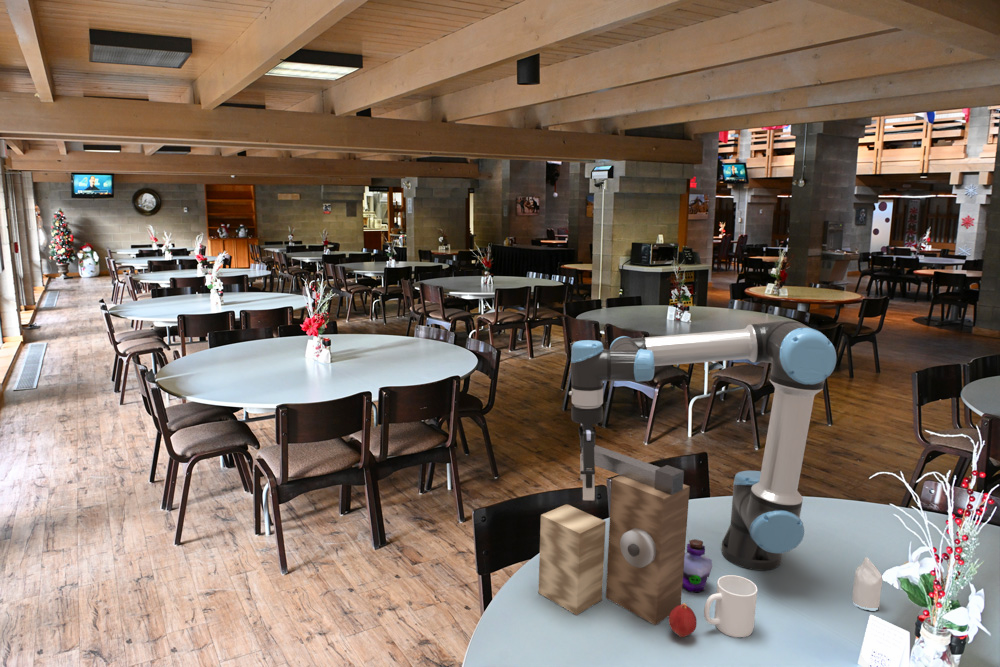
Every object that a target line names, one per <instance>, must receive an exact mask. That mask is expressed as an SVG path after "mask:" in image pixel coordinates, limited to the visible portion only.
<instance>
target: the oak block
mask: <svg viewBox="0 0 1000 667" xmlns="http://www.w3.org/2000/svg"><path fill="white" fill-rule="evenodd" d="M606 522H607V521H606V520H603V519H602V518H599V517H597V516H594V515H592V514H590V513H588V512H586V511H583V510H581V509H579V508H577V507H574V506H572V505H570V504H567V503H566V504H563V505H561V506H559V507H555V509H552V510H549V511H547V512H544V513H542V514H540V525H539V526H540V527H539V528H540V530H539V535H540V536H539V564H538V565H539V566H538V570H539V571H538V594H540V595H542V596H544V597H545V598H547V599H549V600H550V601H551V602H553V603H555V604H557V605H558V606H560V607H562V608H563V607H564V608H563V609H565V608H566V609H565V610H567V611H568V610H569V611H568V612H570V613H572V614H573V613H574V615H575V616H577V615H579V614H581V613H583V612H585V611H586V610H588V609H589V607H590V608H592V607H593V606H595V605H596V604H598V603H599V601H600V602H601V601H603V600H602V599H603V584H604V581H603V580H604V563H605V562H604V561H605V545H606V544H605V543H606V542H605V541H606V540H605V539H606ZM594 604H595V605H594ZM592 605H593V606H592ZM584 610H585V611H584Z"/></svg>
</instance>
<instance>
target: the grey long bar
mask: <svg viewBox="0 0 1000 667" xmlns="http://www.w3.org/2000/svg"><path fill="white" fill-rule="evenodd" d="M580 454H581V460H582V461H583V448H582V453H580ZM594 461H595V467H597V468H600V469H603V470H606V471H609V472H612V473H614V474H617V475H618V476H620V475H622V476H624V477H627V478H630V479H632V480H635V481H638V482H640V483H643V484H646V485H648V486H651V487H654V489H656V490H659V491H662V492H664V493H667V494H670V495H673V494H675V493H677V492H679V491H681V490H683V484H684V477H685V474H684V473H685V471H684V470H683V469H680V468H676V467H675V466H671V465H668V464H666V465H664V466H661V467H660V466H657V465H653V464H651V463H649V462H645V461H642V460H640V459H637V458H634V457H632V456H628V455H626V454H622V453H620V452H618V451H617V452H616V451H614V450H611V449H608V448H605V447H602V446H600V445H597V444H595V447H594Z"/></svg>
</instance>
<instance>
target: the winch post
mask: <svg viewBox="0 0 1000 667" xmlns="http://www.w3.org/2000/svg"><path fill="white" fill-rule="evenodd" d="M690 487H691V486H690V485H687V484H684V483H683V490H681V491H679V492H677V493H675V494H673V495H670V494H667V493H664V492H662V491H659V490H656V489H654V487H651V486H648V485H646V484H643V483H640V482H638V481H635V480H632V479H630V478H627V477H624V476H622V475H618V476H616V477H613V478H611V487H610V488H611V489H610V506H609V507H610V508H609V509H610V510H609V525H608V526H609V528H608V547H607V548H608V549H607V566H606V568H607V570H606V587H605V588H606V590H605V598H606V599H607V600H609V601H610V600H611V602H612V601H613V602H612V603H614V604H616V603H617V604H616V605H618V604H619V605H618V606H620V607H621V606H622V608H623V607H624V609H626V610H627V611H629V612H631V613H632V614H635V615H636V616H638V617H639V618H642V619H644V620H645V621H647V622H649V623H651V624H653V625H654V626H656V625H658V624H660V623H661V622H662V621H663V620H665V619H666V618H669V615H670V612H671V611H672V610H673V609H674V608H675V607H676V606H678V605H681V604H682V594H683V588H682V584H683V570H684V557H685V553H686V539H687V527H688V515H689V500H690V489H691V488H690Z"/></svg>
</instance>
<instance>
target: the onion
mask: <svg viewBox="0 0 1000 667" xmlns="http://www.w3.org/2000/svg"><path fill="white" fill-rule="evenodd" d="M668 624H669V626H670V628H671V630H672V631H673V632H674V633H675V634H677V635H678V637H680V638H685V637H687V636H689V635H691V634H693V632H694V631H695V630H696V628H697V617H696V614H695V612H694V611H693V610H692V609H691V608H690V607H689V606H688V605H687V603H685V602H682V603H681V605H678V606H676V607H675V608H674V609H673V610H672V611H671V612H670V615H669V616H668Z"/></svg>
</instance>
